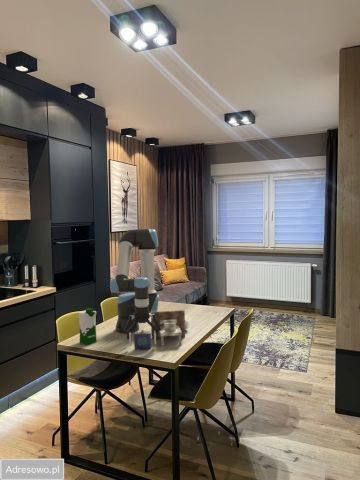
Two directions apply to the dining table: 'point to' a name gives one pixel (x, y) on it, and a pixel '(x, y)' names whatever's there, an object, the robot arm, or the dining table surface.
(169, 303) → the dining table surface
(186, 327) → the pretzel
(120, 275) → the robot arm
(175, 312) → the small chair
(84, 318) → the milk carton
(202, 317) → the dining table surface
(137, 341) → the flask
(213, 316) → the dining table surface
